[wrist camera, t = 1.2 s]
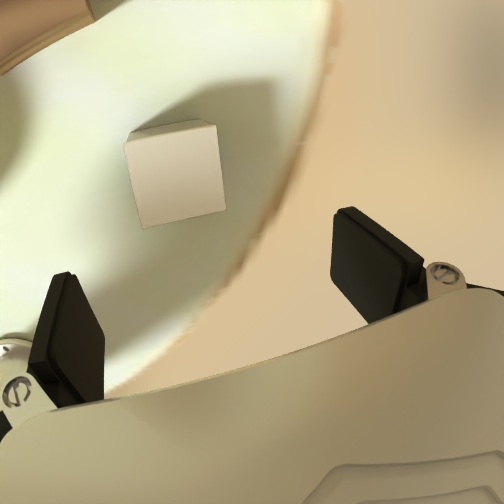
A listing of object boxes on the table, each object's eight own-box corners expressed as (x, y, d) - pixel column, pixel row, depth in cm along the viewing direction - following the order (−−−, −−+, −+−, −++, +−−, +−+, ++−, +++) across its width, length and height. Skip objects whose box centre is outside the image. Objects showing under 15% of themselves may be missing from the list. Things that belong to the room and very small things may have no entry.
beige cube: (209, 184, 28) (226, 210, 23) (142, 199, 27) (142, 229, 22) (200, 117, 25) (216, 125, 20) (128, 131, 23) (123, 144, 18)
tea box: (98, 23, 18) (87, 9, 14) (3, 77, 17) (-24, 78, 13) (76, -55, 13) (64, -78, 8) (-16, -1, 12) (-42, -12, 7)
